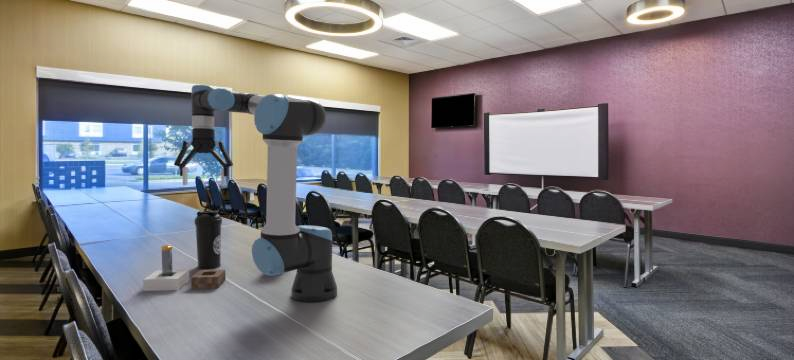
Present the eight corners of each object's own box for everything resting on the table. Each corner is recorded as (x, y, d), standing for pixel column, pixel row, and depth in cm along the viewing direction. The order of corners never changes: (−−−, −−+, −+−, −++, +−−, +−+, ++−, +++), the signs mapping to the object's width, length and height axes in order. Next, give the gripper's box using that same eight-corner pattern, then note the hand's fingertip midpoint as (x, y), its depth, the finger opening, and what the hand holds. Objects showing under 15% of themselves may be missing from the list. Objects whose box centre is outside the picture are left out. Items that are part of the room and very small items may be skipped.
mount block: (225, 280, 155) (225, 269, 155) (218, 288, 146) (218, 276, 146) (199, 280, 154) (199, 270, 154) (191, 288, 145) (191, 277, 145)
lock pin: (174, 283, 150) (173, 245, 149) (170, 286, 147) (169, 247, 146) (164, 284, 150) (163, 245, 149) (160, 286, 146) (159, 247, 145)
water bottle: (216, 269, 168) (215, 212, 166) (190, 269, 168) (189, 212, 166) (226, 263, 178) (225, 209, 176) (202, 262, 178) (201, 208, 176)
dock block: (189, 280, 154) (189, 269, 154) (177, 290, 143) (177, 278, 143) (157, 280, 153) (157, 270, 153) (143, 291, 142) (143, 279, 142)
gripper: (240, 129, 161) (241, 184, 162) (171, 127, 157) (173, 184, 159) (235, 128, 153) (236, 186, 155) (163, 126, 150) (164, 185, 152)
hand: (204, 185), depth 157 cm, fingers open, 13 cm apart
